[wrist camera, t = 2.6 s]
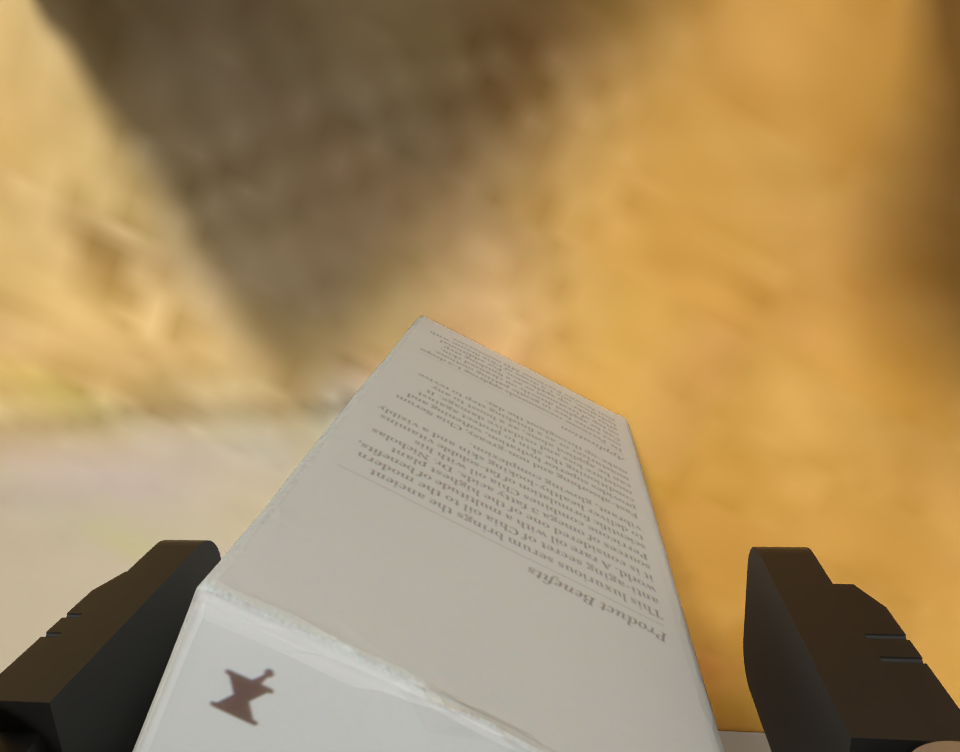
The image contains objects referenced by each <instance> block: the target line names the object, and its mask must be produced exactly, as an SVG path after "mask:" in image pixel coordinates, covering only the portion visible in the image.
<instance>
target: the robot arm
mask: <svg viewBox="0 0 960 752" xmlns="http://www.w3.org/2000/svg"><path fill="white" fill-rule="evenodd" d="M220 560H221V557H220V553H219V550H218V548H217V546H216V545H215V544H214V543H213V542H212V541H208V540H163V541H160V542H159V543H157V544H156V545H155V546H154V547H153V548H152V549H151V550H150V551H149V552H147V553H146V554H145V555H144V556H143V557H142V558H141V559H140V560H139V561H138V562H137V563H136V564H135V565H134V566H133V567H131V568H130V569H129V570H128V571H127V572H124V573H122V574H121V575H119V576H117V577H115V578H114V579H112V580H110V581H108V582H107V583H105V584H103V585H101V586H99V587H98V588H96V589H94V590H92V591H91V592H90V593H89V594H88V595H87V596H86V597H84V598H83V599H82V600H81V601H80V602H79V603H78V604H77V605H76V606H75V607H73V608H72V609H71V610H70V611H69V612H68V613H67V617H66V618H61V619H60V620H59V621H58V622H57V623H56V624H55V625H54V626H53V627H51V628H50V629H49V630H48V631H47V632H46V633H47V634H46V637H40V638H39V639H38V640H37V641H36V642H35V643H34V644H33V645H32V646H30V647H29V648H28V649H27V650H26V651H25V652H24V653H23V654H22V655H21V656H19V657H18V658H17V659H16V660H15V661H14V662H13V663H12V664H11V665H10V666H8V667H7V668H6V669H5V670H4V671H3V672H2V673H1V674H0V752H133V749H134V747H135V744H136V742H137V739H138V737H139V734H140V732H141V729H142V727H143V724H144V722H145V719H146V717H147V714H148V712H149V709H150V707H151V704H152V702H153V699H154V697H155V694H156V692H157V689H158V687H159V684H160V682H161V679H162V677H163V674H164V672H165V669H166V667H167V664H168V661H169V659H170V656H171V654H172V651H173V649H174V646H175V643H176V641H177V638H178V636H179V633H180V630H181V628H182V625H183V623H184V620H185V617H186V615H187V612H188V610H189V607H190V604H191V602H192V599H193V596H194V594H195V591H196V588H197V587H198V586H199V584H200V583H201V582H202V581H203V580H204V579H205V578H206V577H207V575H208V574H209V573H210V572H211V571H212V570H213V568H214V567H215V566H216V565H217V564H218V563H219V562H220ZM743 652H744V664H745V671H746V677H747V682H748V686H749V689H750V692H751V695H752V698H753V701H754V703H755V706H756V709H757V712H758V715H759V718H760V721H761V723H762V726H763V729H764V732H765V735H766V738H767V741H768V743H769V746H770V749H771V752H960V709H959V708H958V706H957V705H956V704H955V702H954V701H953V700H952V698H951V697H950V695H949V694H948V693H947V691H946V690H945V688H944V687H943V686H942V684H941V683H940V682H939V680H938V679H937V677H936V676H935V675H934V673H933V672H932V670H931V669H930V668H929V666H928V665H927V664H923V661H922V657H921V655H920V654H919V652H918V651H917V650H916V648H915V647H914V646H913V644H912V643H911V641H910V640H906V634H905V633H904V632H903V630H902V629H901V627H900V626H899V625H898V623H897V622H896V621H895V619H894V618H893V616H892V615H891V614H890V612H889V611H888V609H887V608H886V607H885V606H883V605H882V604H880V603H879V602H878V601H876V600H875V599H873V598H872V597H871V596H869V595H868V594H866V593H865V592H863V591H862V590H861V589H859V588H858V587H856V586H855V585H853V584H832V582H831V580H830V579H829V577H828V576H827V574H826V573H825V571H824V569H823V568H822V566H821V565H820V563H819V562H818V560H817V558H816V557H815V555H814V554H813V552H812V551H811V550H810V549H809V548H807V547H752V549H751V550H750V553H749V558H748V569H747V586H746V603H745V620H744V638H743Z"/></svg>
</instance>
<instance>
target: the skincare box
mask: <svg viewBox="0 0 960 752" xmlns="http://www.w3.org/2000/svg"><path fill="white" fill-rule="evenodd" d="M133 752H725V750H724V747H723V744H722V741H721V738H720V735H719V732H718V729H717V725H716V721H715V717H714V714H713V711H712V708H711V705H710V701H709V698H708V695H707V692H706V689H705V685H704V682H703V678H702V675H701V672H700V668H699V665H698V661H697V658H696V654H695V651H694V647H693V644H692V641H691V637H690V634H689V631H688V627H687V624H686V620H685V617H684V613H683V610H682V607H681V603H680V600H679V597H678V594H677V590H676V586H675V582H674V579H673V575H672V572H671V568H670V565H669V561H668V558H667V555H666V551H665V548H664V544H663V541H662V538H661V534H660V531H659V527H658V524H657V520H656V517H655V513H654V510H653V507H652V503H651V500H650V496H649V493H648V489H647V486H646V482H645V479H644V476H643V472H642V468H641V464H640V462H639V458H638V454H637V451H636V448H635V444H634V441H633V437H632V434H631V431H630V428H629V424H628V422H627V420H626V419H625V418H624V417H622V416H620V415H618V414H616V413H614V412H612V411H610V410H608V409H606V408H604V407H602V406H600V405H598V404H596V403H594V402H592V401H590V400H588V399H586V398H584V397H582V396H580V395H579V394H577V393H575V392H573V391H571V390H569V389H567V388H565V387H563V386H561V385H559V384H557V383H555V382H553V381H551V380H549V379H547V378H545V377H543V376H541V375H539V374H537V373H536V372H534V371H532V370H530V369H528V368H526V367H524V366H522V365H520V364H517V363H515V362H513V361H512V360H510V359H508V358H506V357H504V356H502V355H500V354H498V353H496V352H494V351H492V350H490V349H488V348H486V347H484V346H482V345H480V344H478V343H476V342H474V341H472V340H470V339H468V338H466V337H464V336H462V335H460V334H458V333H456V332H455V331H453V330H451V329H449V328H447V327H445V326H443V325H441V324H439V323H437V322H435V321H433V320H431V319H430V318H428V317H425V316H420V317H419V318H418V319H417V320H416V321H415V322H414V323H413V325H412V326H411V327H410V328H409V329H408V331H407V332H406V333H405V334H404V336H403V337H402V338H401V340H400V341H399V342H398V343H397V345H396V346H395V347H394V348H393V349H392V351H391V352H390V353H389V355H388V356H387V357H386V358H385V360H384V361H383V362H382V363H381V364H380V365H379V366H378V368H377V369H376V370H375V371H374V372H373V374H372V375H371V376H370V377H369V378H368V380H367V381H366V382H365V383H364V385H363V386H362V387H361V388H360V390H359V391H358V392H357V393H356V394H355V396H354V397H353V398H352V399H351V401H350V402H349V403H348V405H347V406H346V407H345V408H344V409H343V411H342V412H341V413H340V414H339V416H338V417H337V418H336V419H335V421H334V422H333V423H332V424H331V426H330V427H329V428H328V429H327V431H326V432H325V433H324V434H323V436H322V437H321V438H320V439H319V440H318V441H317V443H316V444H315V445H314V447H313V448H312V449H311V450H310V451H309V453H308V454H307V455H306V456H305V458H304V459H303V460H302V462H301V463H300V464H299V466H298V467H297V468H296V470H295V471H294V472H293V473H292V475H291V476H290V477H289V478H288V479H287V481H286V482H285V483H284V484H283V485H282V487H281V488H280V489H279V491H278V492H277V494H276V495H275V496H274V498H273V499H272V500H271V502H270V503H269V504H268V505H267V507H266V508H265V509H264V510H263V511H262V513H261V514H260V515H259V516H258V517H257V518H256V520H255V521H254V522H253V523H252V524H251V525H250V526H249V528H248V529H247V530H246V531H245V532H244V533H243V535H242V536H241V537H240V538H239V539H238V541H237V542H236V543H235V544H234V545H233V546H232V548H231V549H230V550H229V551H228V552H227V553H226V555H225V556H224V557H223V558H222V559H221V560H220V562H219V563H218V564H217V565H216V566H215V567H214V568H213V570H212V571H211V572H210V573H209V574H208V575H207V577H206V578H205V579H204V580H203V581H202V582H201V583H200V584H199V586H198V587H197V588H196V591H195V594H194V596H193V599H192V602H191V604H190V607H189V610H188V612H187V615H186V617H185V620H184V623H183V625H182V628H181V630H180V633H179V636H178V638H177V641H176V643H175V646H174V649H173V651H172V654H171V656H170V659H169V661H168V664H167V667H166V669H165V672H164V674H163V677H162V679H161V682H160V684H159V687H158V689H157V692H156V694H155V697H154V699H153V702H152V704H151V707H150V709H149V712H148V714H147V717H146V719H145V722H144V724H143V727H142V729H141V732H140V734H139V737H138V739H137V742H136V744H135V747H134V749H133Z"/></svg>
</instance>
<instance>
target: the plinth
mask: <svg viewBox="0 0 960 752" xmlns="http://www.w3.org/2000/svg"><path fill="white" fill-rule="evenodd" d="M718 732H719V735H720V738H721V741H722V744H723V747H724V750H725V752H771V749H770V746H769V743H768V741H767V738H766V735H765V733H758V732H735V731H718Z"/></svg>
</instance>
